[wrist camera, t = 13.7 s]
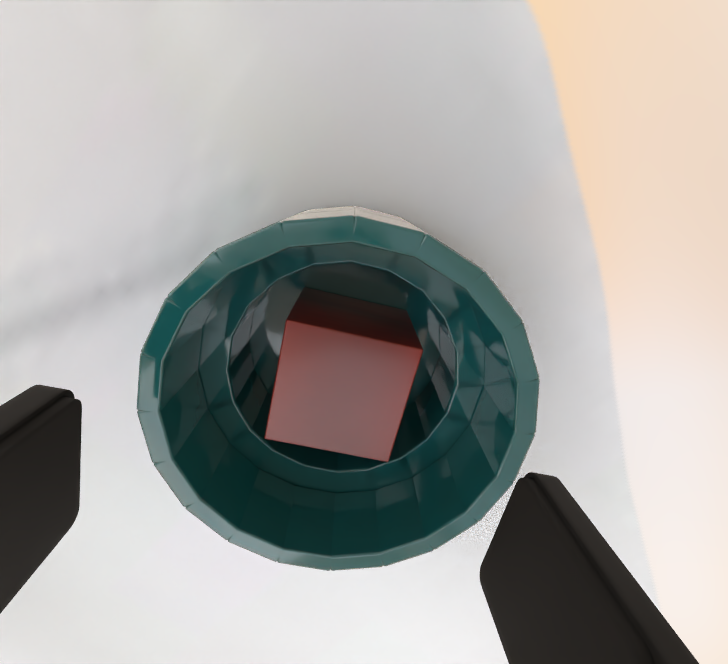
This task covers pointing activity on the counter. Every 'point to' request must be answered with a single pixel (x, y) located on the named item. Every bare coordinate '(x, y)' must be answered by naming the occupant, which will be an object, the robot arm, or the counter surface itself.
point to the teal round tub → (320, 467)
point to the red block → (343, 375)
